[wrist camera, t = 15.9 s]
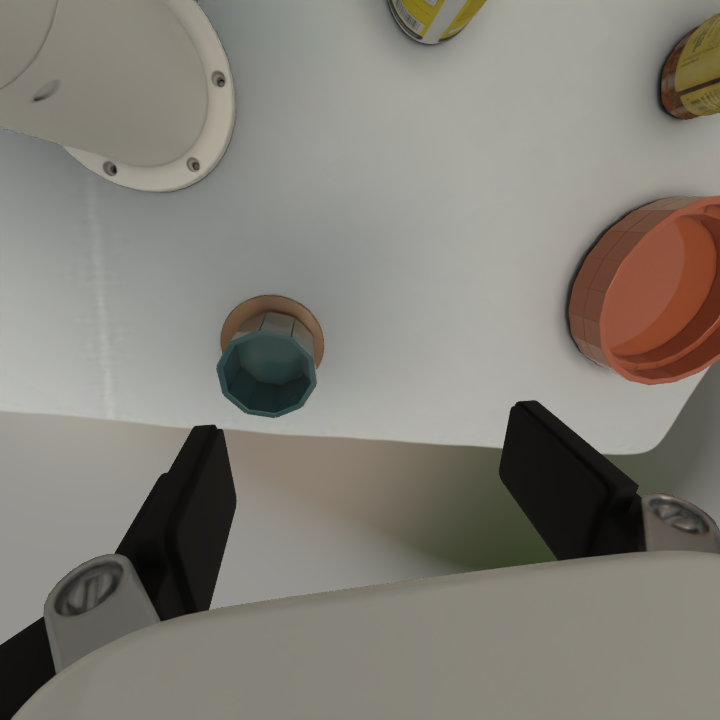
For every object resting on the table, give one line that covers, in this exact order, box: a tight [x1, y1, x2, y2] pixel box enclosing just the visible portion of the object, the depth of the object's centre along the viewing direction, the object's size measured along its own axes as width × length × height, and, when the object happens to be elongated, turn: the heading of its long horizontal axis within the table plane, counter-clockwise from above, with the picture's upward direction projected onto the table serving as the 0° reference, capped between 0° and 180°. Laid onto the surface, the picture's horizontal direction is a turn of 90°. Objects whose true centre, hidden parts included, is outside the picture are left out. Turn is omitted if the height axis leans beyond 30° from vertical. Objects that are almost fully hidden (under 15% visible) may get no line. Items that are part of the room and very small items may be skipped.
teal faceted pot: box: [216, 312, 317, 418], centre depth 28 cm, size 7×7×6 cm
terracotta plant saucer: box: [568, 196, 720, 385], centre depth 31 cm, size 16×16×4 cm
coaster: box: [221, 295, 324, 385], centre depth 31 cm, size 9×9×1 cm
